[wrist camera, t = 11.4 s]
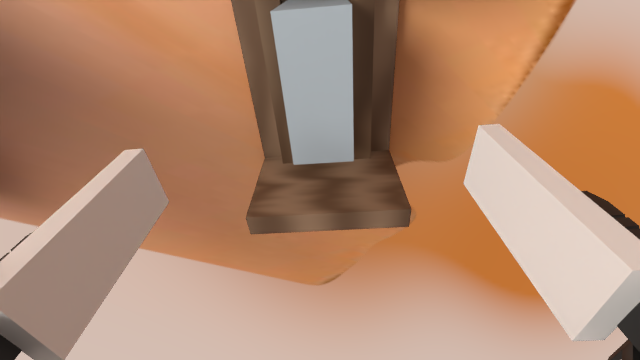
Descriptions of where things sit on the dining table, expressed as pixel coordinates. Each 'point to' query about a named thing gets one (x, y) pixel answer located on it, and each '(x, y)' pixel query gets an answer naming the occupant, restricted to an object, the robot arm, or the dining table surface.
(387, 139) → the track base
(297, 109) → the plain grey rectangular block
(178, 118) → the dining table surface
